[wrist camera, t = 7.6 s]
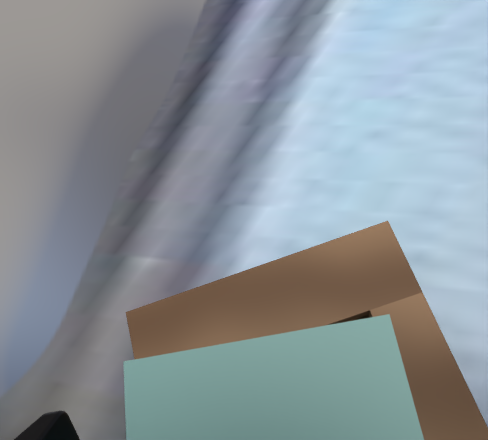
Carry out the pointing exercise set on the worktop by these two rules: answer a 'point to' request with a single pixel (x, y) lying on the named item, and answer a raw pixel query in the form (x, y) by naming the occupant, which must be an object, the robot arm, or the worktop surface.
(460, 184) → the worktop surface
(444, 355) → the walnut box
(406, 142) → the worktop surface
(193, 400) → the teal post
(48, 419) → the robot arm
